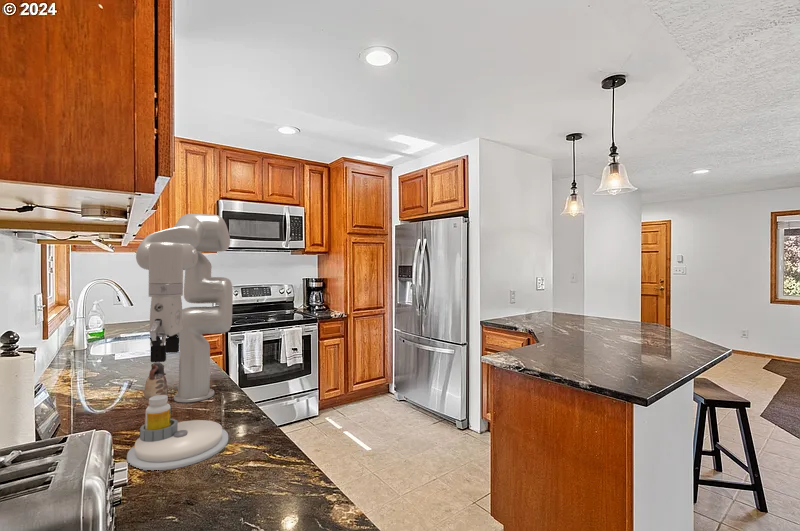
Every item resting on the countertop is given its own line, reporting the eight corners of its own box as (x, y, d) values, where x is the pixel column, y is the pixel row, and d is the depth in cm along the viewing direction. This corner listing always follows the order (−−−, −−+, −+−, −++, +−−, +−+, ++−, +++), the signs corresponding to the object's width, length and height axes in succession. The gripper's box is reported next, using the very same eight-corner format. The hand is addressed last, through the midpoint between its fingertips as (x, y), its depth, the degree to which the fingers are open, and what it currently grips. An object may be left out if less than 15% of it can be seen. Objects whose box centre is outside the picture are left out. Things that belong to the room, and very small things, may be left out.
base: (105, 458, 90) (105, 453, 90) (189, 424, 111) (189, 420, 111) (167, 479, 82) (167, 473, 82) (246, 438, 102) (246, 433, 102)
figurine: (172, 393, 138) (172, 360, 138) (158, 400, 131) (158, 365, 131) (154, 392, 139) (154, 359, 139) (139, 399, 132) (139, 364, 132)
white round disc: (235, 427, 105) (235, 411, 105) (196, 462, 86) (196, 442, 86) (167, 426, 106) (167, 410, 106) (114, 461, 87) (114, 441, 87)
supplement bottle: (141, 436, 95) (142, 397, 95) (165, 429, 100) (165, 392, 100) (149, 442, 92) (150, 402, 92) (173, 434, 96) (174, 396, 96)
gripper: (170, 292, 90) (169, 365, 90) (192, 288, 107) (191, 348, 107) (134, 293, 88) (134, 366, 88) (162, 288, 105) (161, 350, 105)
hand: (165, 356), depth 98 cm, fingers open, 9 cm apart
